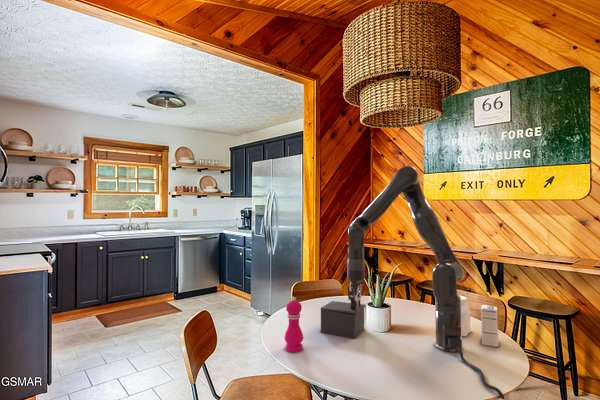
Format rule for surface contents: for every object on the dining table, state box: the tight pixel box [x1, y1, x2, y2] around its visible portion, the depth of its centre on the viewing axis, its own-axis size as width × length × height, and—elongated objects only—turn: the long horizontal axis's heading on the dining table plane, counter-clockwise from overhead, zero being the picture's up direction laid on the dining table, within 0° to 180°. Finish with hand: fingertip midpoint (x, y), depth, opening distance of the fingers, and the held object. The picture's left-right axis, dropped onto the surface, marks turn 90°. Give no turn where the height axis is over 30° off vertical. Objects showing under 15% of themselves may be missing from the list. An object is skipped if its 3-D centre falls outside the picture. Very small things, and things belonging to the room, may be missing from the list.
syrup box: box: [480, 304, 499, 348], centre depth 139 cm, size 6×6×14 cm
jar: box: [458, 294, 472, 337], centre depth 152 cm, size 12×10×15 cm
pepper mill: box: [284, 296, 304, 353], centre depth 134 cm, size 7×7×20 cm
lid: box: [320, 296, 367, 314], centre depth 154 cm, size 16×13×5 cm
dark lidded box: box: [320, 308, 365, 339], centre depth 154 cm, size 16×13×10 cm
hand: (355, 307), depth 151 cm, fingers closed on lid, 5 cm apart
